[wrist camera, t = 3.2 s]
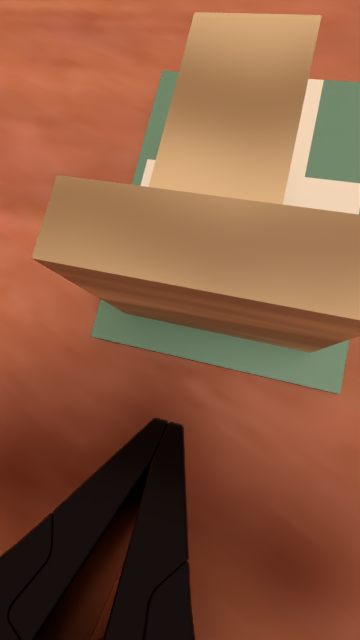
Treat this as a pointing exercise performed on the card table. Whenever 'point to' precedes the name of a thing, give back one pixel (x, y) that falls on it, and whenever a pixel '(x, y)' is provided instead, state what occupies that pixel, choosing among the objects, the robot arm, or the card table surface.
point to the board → (302, 190)
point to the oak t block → (219, 203)
